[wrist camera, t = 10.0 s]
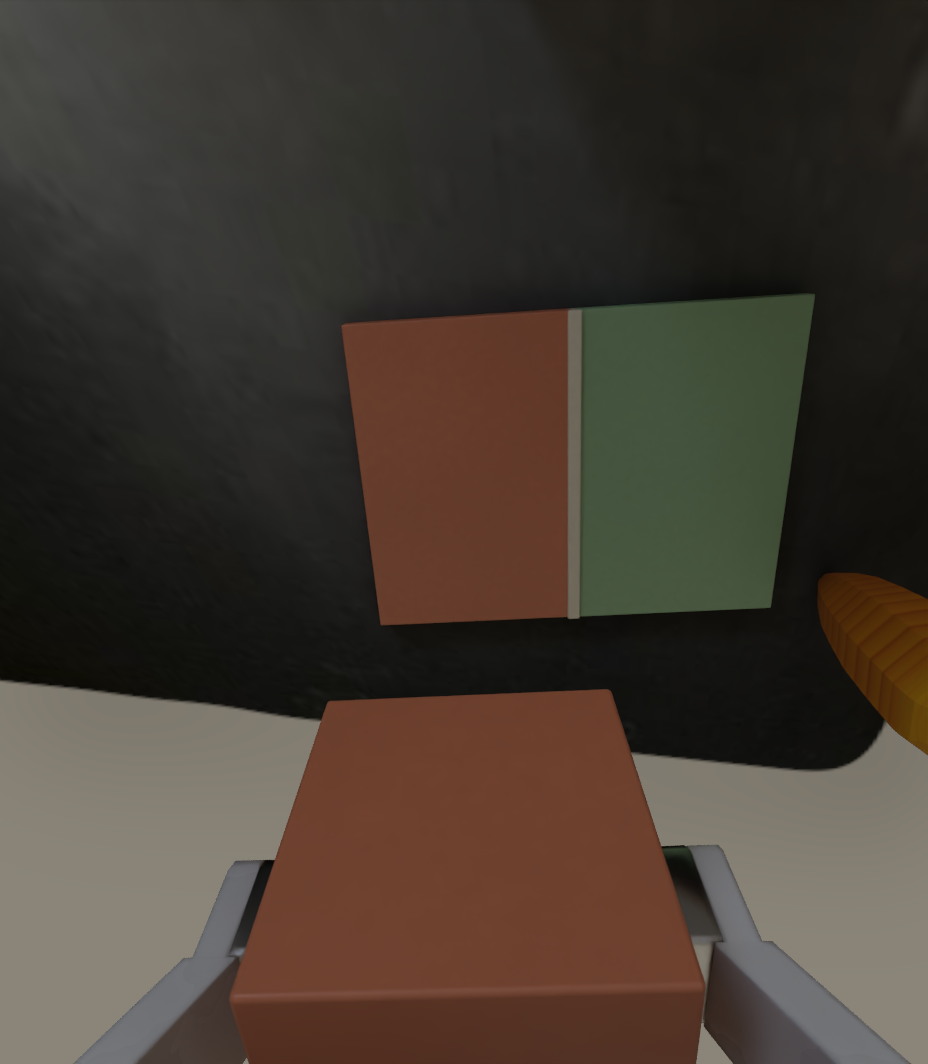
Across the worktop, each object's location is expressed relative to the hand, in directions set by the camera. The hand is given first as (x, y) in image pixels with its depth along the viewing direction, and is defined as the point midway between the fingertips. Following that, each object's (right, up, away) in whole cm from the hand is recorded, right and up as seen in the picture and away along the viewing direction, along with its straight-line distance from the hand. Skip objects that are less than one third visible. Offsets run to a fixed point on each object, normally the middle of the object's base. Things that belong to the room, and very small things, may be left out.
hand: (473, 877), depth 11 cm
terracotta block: (0, +1, +1) cm, 2 cm away
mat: (+5, +9, +20) cm, 22 cm away
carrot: (+18, +3, +22) cm, 29 cm away
